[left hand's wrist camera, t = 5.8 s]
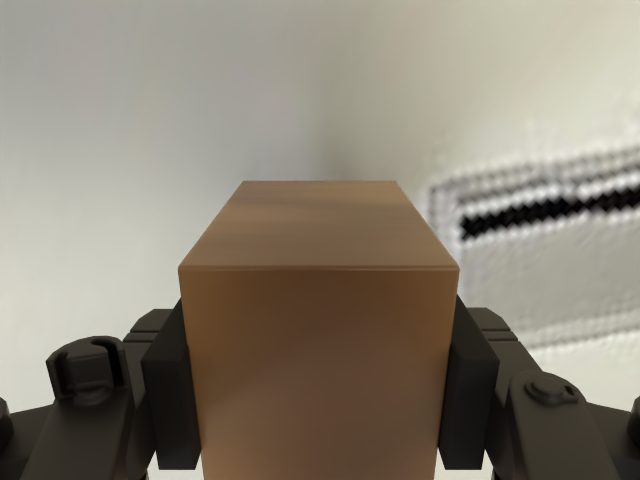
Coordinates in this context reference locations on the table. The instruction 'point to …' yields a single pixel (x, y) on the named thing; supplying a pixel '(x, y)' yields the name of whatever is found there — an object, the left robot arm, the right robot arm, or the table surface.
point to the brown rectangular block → (318, 333)
